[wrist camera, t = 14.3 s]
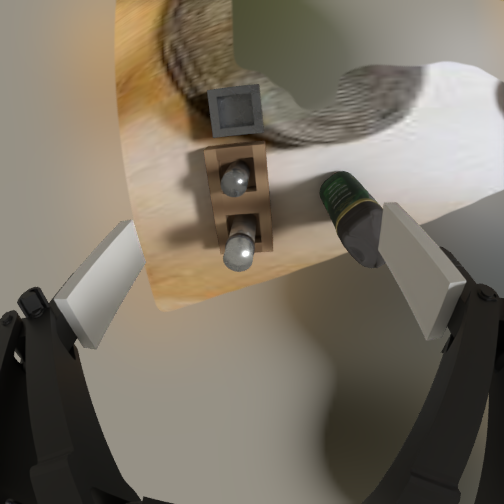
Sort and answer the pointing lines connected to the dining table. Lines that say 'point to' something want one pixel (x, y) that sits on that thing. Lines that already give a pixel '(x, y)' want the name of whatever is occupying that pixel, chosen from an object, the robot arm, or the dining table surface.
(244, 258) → the grey metal cylinder
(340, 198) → the coffee jar
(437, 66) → the dining table surface
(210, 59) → the dining table surface
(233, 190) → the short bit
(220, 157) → the rack
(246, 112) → the socket block
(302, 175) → the dining table surface
